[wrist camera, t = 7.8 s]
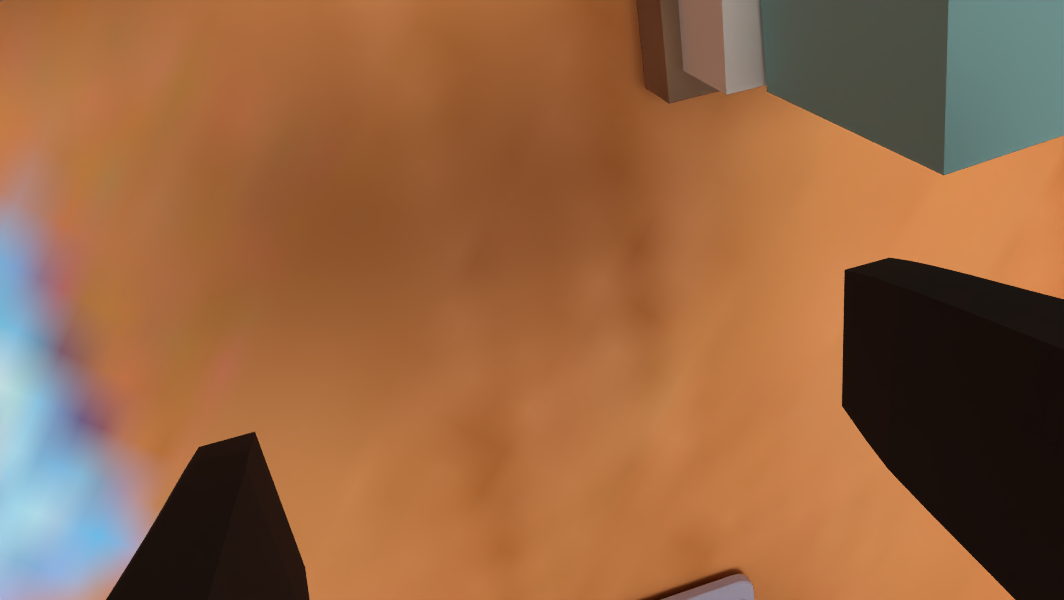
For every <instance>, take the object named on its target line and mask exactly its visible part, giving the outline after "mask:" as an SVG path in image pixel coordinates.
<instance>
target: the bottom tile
mask: <svg viewBox="0 0 1064 600" xmlns="http://www.w3.org/2000/svg"><path fill="white" fill-rule="evenodd" d="M636 1H637V11H638V20H639V30H640V39H641V49H642V58H643V68H644V78H645V87H646V88H647V89H648V90H650V91H651V92H653V93H654V94H656V95H657V96H659V97H660V98H662V99H663V100H665V101H666V102H668V103H673V102H677V101H681V100H685V99H689V98H693V97H697V96H701V95H705V94H709V93H713V92H717V91H719V90H717V89H715V88H713V87H712V86H710V85H708V84H706V83H704V82H703V81H701V80H699V79H697V78H695V77H694V76H692V75H690V74H688V73H686V72H685V71H683V60H682V46H681V33H680V19H679V5H678V0H636Z"/></svg>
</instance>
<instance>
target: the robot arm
mask: <svg viewBox="0 0 1064 600" xmlns="http://www.w3.org/2000/svg"><path fill="white" fill-rule="evenodd" d="M842 406H843V408H844V409H845V411H846V412H847V414H848V415H849V416H850V418H851V419H852V421H853V422H854V424H855V425H856V426H857V428H858V429H859V431H860V432H861V434H862V435H863V436H864V438H865V439H866V441H867V442H868V443H869V445H870V446H871V447H872V449H873V450H874V451H875V452H876V454H877V455H878V456H879V458H880V459H881V460H882V462H883V463H884V464H885V466H886V467H887V468H888V469H889V470H890V471H891V472H892V474H893V475H894V476H895V477H896V478H897V479H898V480H899V481H900V482H901V483H902V484H903V485H904V486H905V487H906V488H907V489H908V490H909V491H910V493H911V494H912V495H913V496H914V497H915V498H916V499H917V500H918V501H919V502H920V503H921V504H922V505H923V506H924V507H925V508H926V509H927V510H928V511H929V512H930V513H931V514H932V515H933V516H934V517H935V518H936V519H937V520H938V521H939V522H940V523H941V524H942V525H943V527H944V528H945V529H946V530H947V531H948V532H949V533H950V534H951V535H952V536H953V537H954V538H955V539H956V540H957V541H958V542H959V543H960V544H961V545H962V546H963V547H964V548H965V549H966V550H967V551H968V552H969V553H970V554H971V555H972V556H973V557H974V558H975V559H976V560H977V561H978V562H979V563H980V564H981V565H982V566H983V567H984V568H985V569H986V570H987V571H988V572H989V573H990V574H991V575H992V576H993V577H994V578H995V579H996V580H997V581H998V582H999V583H1000V584H1001V585H1002V586H1003V587H1004V588H1005V589H1006V591H1007V592H1008V593H1009V594H1010V595H1011V596H1012V597H1013V598H1014V599H1015V600H1064V299H1060V298H1056V297H1052V296H1048V295H1044V294H1041V293H1037V292H1033V291H1029V290H1025V289H1022V288H1018V287H1014V286H1010V285H1006V284H1003V283H999V282H995V281H991V280H987V279H983V278H980V277H976V276H972V275H968V274H964V273H960V272H956V271H952V270H948V269H944V268H940V267H936V266H931V265H927V264H922V263H918V262H912V261H907V260H901V259H895V258H887V259H883V260H879V261H876V262H872V263H868V264H865V265H861V266H857V267H854V268H850V269H846V270H845V283H844V333H843V384H842ZM106 600H309V593H308V586H307V578H306V571H305V566H304V563H303V561H302V558H301V555H300V553H299V550H298V547H297V544H296V542H295V539H294V536H293V534H292V531H291V528H290V526H289V523H288V520H287V517H286V515H285V512H284V509H283V507H282V504H281V501H280V499H279V496H278V493H277V490H276V488H275V485H274V482H273V480H272V477H271V474H270V471H269V469H268V466H267V463H266V461H265V458H264V455H263V453H262V450H261V447H260V444H259V442H258V439H257V436H256V434H255V432H252V433H249V434H245V435H241V436H238V437H234V438H230V439H227V440H223V441H219V442H216V443H212V444H208V445H205V446H201V447H199V448H198V449H197V451H196V453H195V454H194V456H193V457H192V459H191V460H190V462H189V464H188V465H187V467H186V469H185V470H184V472H183V474H182V475H181V477H180V479H179V480H178V482H177V484H176V486H175V487H174V489H173V491H172V493H171V494H170V496H169V498H168V499H167V501H166V503H165V505H164V506H163V508H162V510H161V511H160V513H159V515H158V517H157V518H156V520H155V522H154V523H153V525H152V527H151V528H150V530H149V532H148V534H147V535H146V537H145V539H144V540H143V542H142V543H141V545H140V547H139V548H138V550H137V551H136V553H135V555H134V556H133V558H132V559H131V561H130V563H129V564H128V566H127V567H126V569H125V571H124V572H123V574H122V575H121V577H120V579H119V580H118V582H117V583H116V585H115V587H114V588H113V590H112V591H111V593H110V594H109V596H108V597H107V599H106ZM661 600H754V588H753V585H752V583H751V582H750V580H749V579H748V577H746V576H745V575H743V574H735V575H731V576H728V577H725V578H722V579H719V580H716V581H714V582H711V583H708V584H705V585H702V586H699V587H696V588H693V589H690V590H687V591H684V592H681V593H678V594H676V595H673V596H670V597H667V598H664V599H661Z"/></svg>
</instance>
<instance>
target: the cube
mask: <svg viewBox="0 0 1064 600" xmlns="http://www.w3.org/2000/svg"><path fill="white" fill-rule="evenodd" d="M761 14H762V27H763V41H764V55H765V68H766V82H767V92H769V93H771V94H773V95H776V96H778V97H780V98H782V99H784V100H786V101H788V102H790V103H792V104H795V105H797V106H799V107H801V108H803V109H805V110H807V111H809V112H811V113H813V114H816V115H818V116H820V117H822V118H824V119H826V120H828V121H830V122H832V123H835V124H837V125H839V126H841V127H843V128H845V129H847V130H849V131H851V132H854V133H856V134H858V135H860V136H862V137H864V138H866V139H868V140H870V141H872V142H875V143H877V144H879V145H881V146H883V147H885V148H887V149H889V150H891V151H894V152H896V153H898V154H900V155H902V156H904V157H906V158H908V159H910V160H913V161H915V162H917V163H919V164H921V165H923V166H925V167H927V168H929V169H931V170H934V171H936V172H938V173H940V174H942V175H946V174H949V173H952V172H955V171H958V170H961V169H964V168H967V167H970V166H973V165H976V164H979V163H982V162H985V161H988V160H991V159H994V158H997V157H1000V156H1003V155H1006V154H1009V153H1012V152H1015V151H1018V150H1021V149H1024V148H1027V147H1030V146H1033V145H1036V144H1039V143H1042V142H1045V141H1048V140H1051V139H1054V138H1057V137H1060V136H1063V135H1064V0H761Z"/></svg>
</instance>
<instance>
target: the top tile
mask: <svg viewBox="0 0 1064 600" xmlns="http://www.w3.org/2000/svg"><path fill="white" fill-rule="evenodd" d="M678 5H679V19H680V33H681V46H682V60H683V71H685V72H686V73H688V74H690V75H692V76H694V77H695V78H697V79H699V80H701V81H703V82H704V83H706V84H708V85H710V86H712V87H713V88H715V89H717V90H719V91H720V92H722V93H724V94H726V95H728V94H732V93H736V92H740V91H744V90H748V89H752V88H756V87H760V86H764V85H767V82H766V68H765V55H764V41H763V27H762V14H761V0H678Z"/></svg>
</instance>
